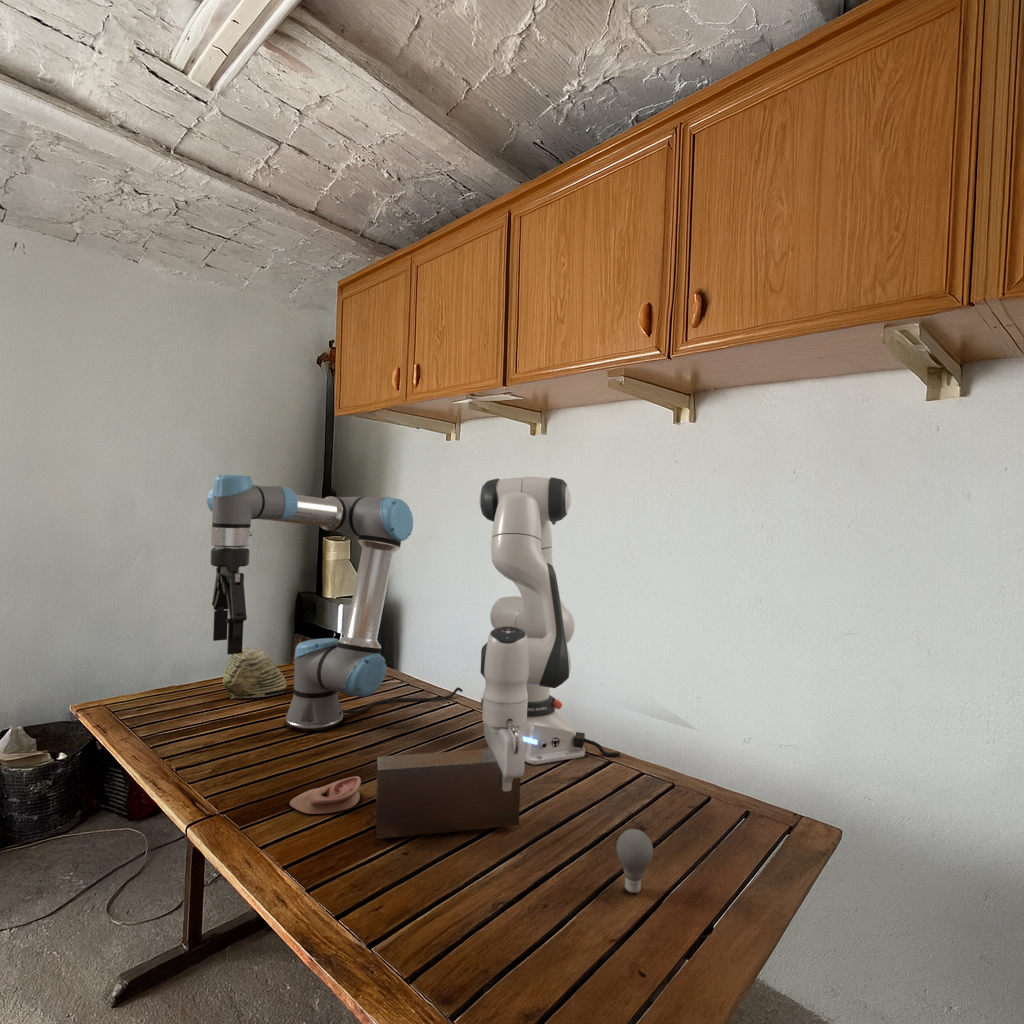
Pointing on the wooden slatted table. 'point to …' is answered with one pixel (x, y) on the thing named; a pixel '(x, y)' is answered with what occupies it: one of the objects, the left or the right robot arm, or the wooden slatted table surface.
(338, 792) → the anatomical model
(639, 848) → the light bulb
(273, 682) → the fossil
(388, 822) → the box
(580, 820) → the wooden slatted table surface
